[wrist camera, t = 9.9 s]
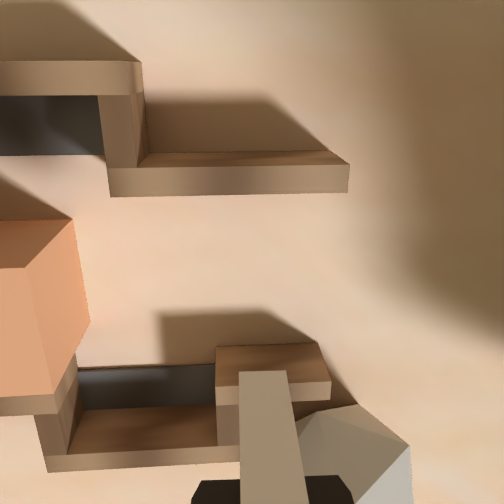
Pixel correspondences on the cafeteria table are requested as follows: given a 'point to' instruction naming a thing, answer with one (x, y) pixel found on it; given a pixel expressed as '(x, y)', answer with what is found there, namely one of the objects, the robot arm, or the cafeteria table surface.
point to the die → (357, 454)
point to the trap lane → (146, 185)
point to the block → (39, 304)
